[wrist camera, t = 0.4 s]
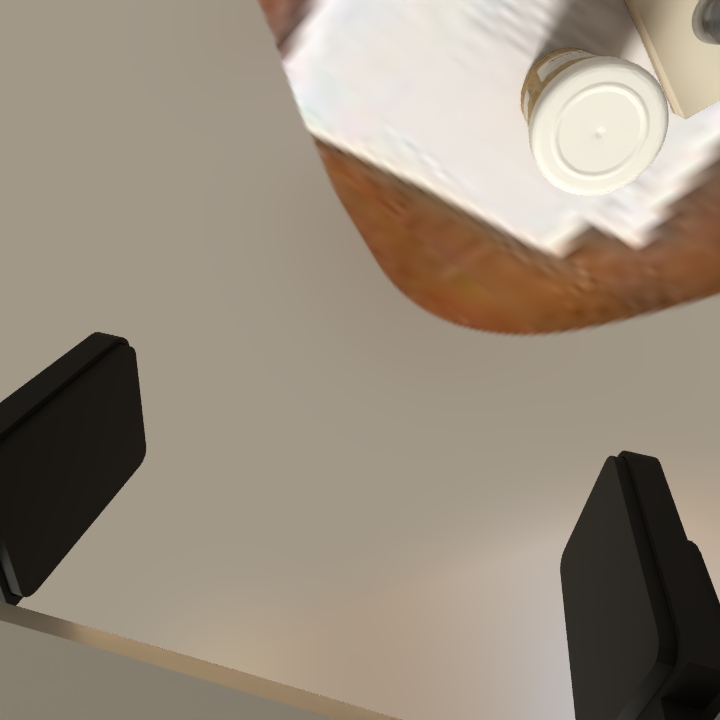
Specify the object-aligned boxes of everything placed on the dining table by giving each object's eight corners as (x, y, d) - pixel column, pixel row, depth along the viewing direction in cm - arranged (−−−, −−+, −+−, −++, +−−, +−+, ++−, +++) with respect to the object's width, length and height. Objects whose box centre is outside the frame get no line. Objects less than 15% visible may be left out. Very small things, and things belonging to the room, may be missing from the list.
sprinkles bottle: (508, 125, 32) (511, 179, 21) (539, 36, 30) (562, 42, 19) (586, 147, 32) (632, 213, 21) (624, 59, 30) (699, 80, 18)
